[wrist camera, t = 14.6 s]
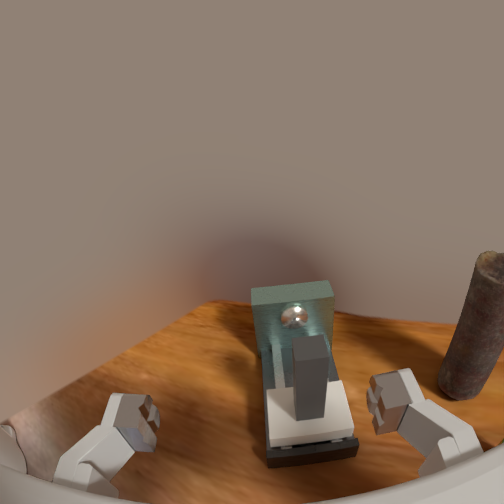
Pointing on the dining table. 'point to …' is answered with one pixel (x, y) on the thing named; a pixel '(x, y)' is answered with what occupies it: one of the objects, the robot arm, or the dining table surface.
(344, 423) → the carriage
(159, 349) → the dining table surface
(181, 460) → the dining table surface
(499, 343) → the dark brown cylinder
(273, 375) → the rail track
